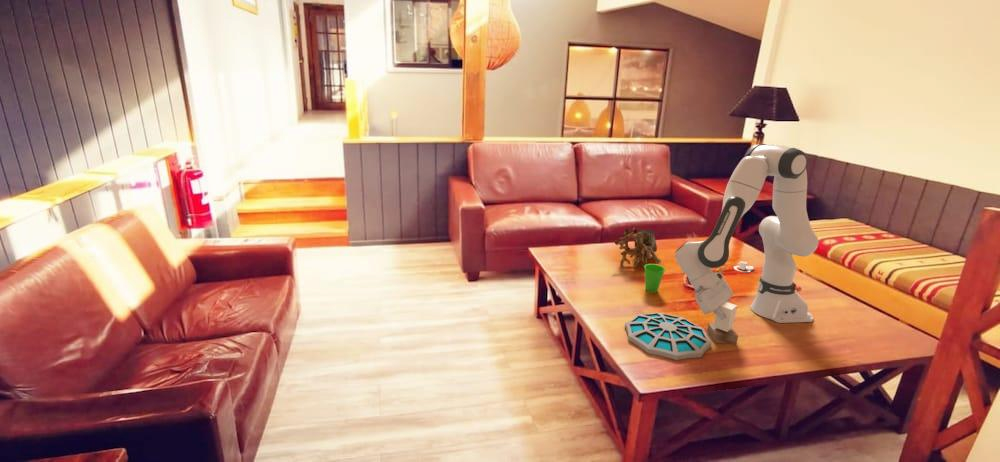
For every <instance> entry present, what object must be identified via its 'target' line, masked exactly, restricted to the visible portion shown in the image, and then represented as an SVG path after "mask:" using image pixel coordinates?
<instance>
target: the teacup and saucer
mask: <svg viewBox="0 0 1000 462" xmlns="http://www.w3.org/2000/svg"><path fill="white" fill-rule="evenodd" d="M733 269H734V270H735V271H737V272H741V273H750V272H752V271H753V270H754V269H755V267H754V266H751V265H748V262H747V261H744V260H742V261H739V263H737V265H736V266H733ZM745 270H747V271H745Z"/></svg>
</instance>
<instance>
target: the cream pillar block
mask: <svg viewBox="0 0 1000 462" xmlns="http://www.w3.org/2000/svg"><path fill="white" fill-rule="evenodd" d="M719 309H720V311H721V312H722V313H724V314H725V316H726V318H725V319H723V320H720V318H719V317H718V316H717V315H716V314H715V316H714V317H715V318H714V322H713V323H714V327H715V328H718V329H721V330H723V331H726V332H728V331H729V330H730V329H731V328H734V322H735V318H736V314H737V310H738V305H737V304H734V303H731V302H730V303H728V302H726V301H725V302H724V303H723V304H721V305H720V306H719Z"/></svg>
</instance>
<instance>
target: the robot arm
mask: <svg viewBox="0 0 1000 462" xmlns="http://www.w3.org/2000/svg"><path fill="white" fill-rule="evenodd" d="M807 165H808V157H807V155H806V153H805V152H804V151H803V150H801V149H799V148H796V147H789V146H784V145H779V144H776V145H775V144H765V143H764V144H763V143H760V144H759V143H758V144H754V145H753V144H752V146H751V147H749V148H748V149H747V150H746V152H745V154H744V156H743V157H742V159H741V160H740V161H739V162H738V164H737V165H736V167H735V168H734V169H733V172H732V174H731V176H730V178H729V180H728V182H727V184H726V187H725V190H724V192H723V193H724V194H723V198H722V208H721V213H720V215H719V217H718V219H717V221H716V224H715V226H714V228H713V230H712V232H711V233H710V236H709V237H707V238H706V239H705V240H702V241H690V240H689V241H686V242H685V243H683V244H682V245H680V246H679V247H678V248H677V249H676V250H675V253H674V258H675V261H676V263H677V264H678V265H679V268H680V269H681V271H682V272H683V273H684V274H685V275H686V276H687V278H688V280H689V283H690V285H691V286H692V287H693V289H694V296H695V297H694V298H695V301H696V304H697V305H698V307H699V309H700V310H701V312H702V313H703V314H704V315H709V314H710V313H713V314H714V315H715V316H716V315H717V316H718V317H719V318H720V320H723V319H725V318H726V316H725V314H724V313H722V312H721V311H720V309H719V306H720V305H721V304H723V303H724V302H725V301H726V302H728V303H731V302H730V301H729V299H731V298H732V297H733V296H734V293H733V290H732V289H731V287H730V285H729V284H728V282H727V280H725V279H724V275H723V274H722V273H721V272H714V271H713V270H712V269H716V268H717V269H718V268H721V267H723V266H724V265H725V264H727V262H728V260H729V257H730V242H731V240H732V236H733V235H734V232H735V231H736V228H737V226H738V224H739V222H740V220H741V218H742V217H743V216H744V215H745V214H746V213H747V212H748V211H749V210H750V209H751V208H752V206H753V205H754V203H755V202H756V201H757V199H758V197H759V195H760V193H761V191H762V189H763V187H764V183H765V181H766V178H767V177H768V176H769V177H774V178H773V184H772V203H771V206H772V210H773V212H774V213H775V215H769V216H766V217H764V218H763V219H762V220H761V222H760V223H759V225H758V232H759V233H758V234H759V235H760V237H761V238H762V243H763V248H764V263H763V267H762V273H761V276H760V278H759V281H758V287H757V293H756V295H755V297H754V300H753V302H752V303H751V304H750V307H749V308H750V309H751V311H752V312H753V313H755V314H756V315H758V316H760V317H762V318H766V319H769V320H771V321H774V322H776V323H781V324H782V323H786V324H787V323H788V324H789V323H812V322H813V320H814V317H813V315H812V314H811V312H809V307H808V303H807V301H806V300H805V299H804V298H803V296H801V295H800V294H798V292H799V293H800V292H802V287H801V286H800V285H797V284H796V283H795V282H794V278H795V274H796V269H797V263H796V261H795V259H794V256H797V257H801V258H802V257H808V256H811V255H812V254H814V252H815V251H816V250H817V248H818V246H819V238H818V236H817V235H816V233H815V232H814V230H813V229H812V226H811V223H810V222H811V221H810V219H809V215H808V211H807V196H808V195H807V194H808V174H807ZM793 255H794V256H793Z"/></svg>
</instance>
